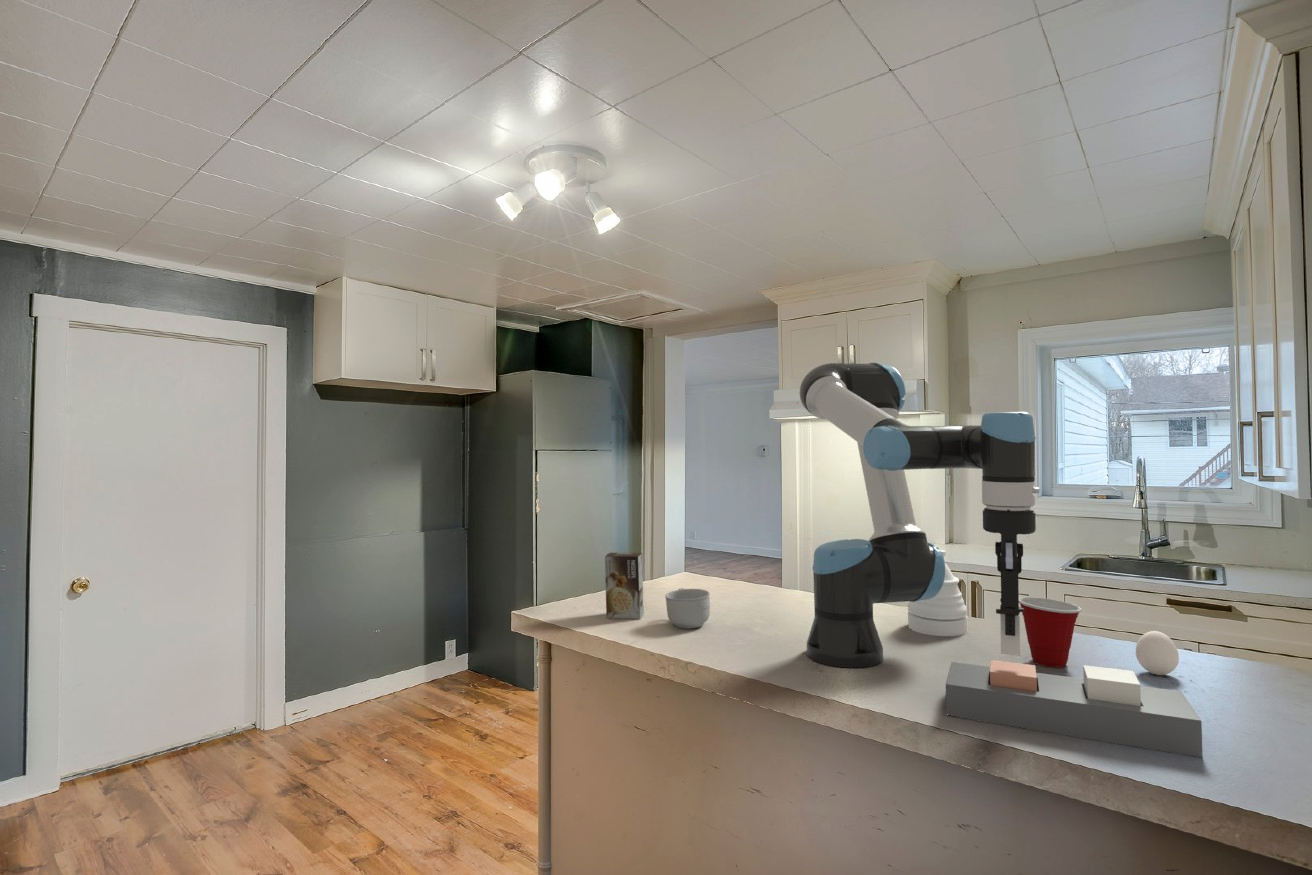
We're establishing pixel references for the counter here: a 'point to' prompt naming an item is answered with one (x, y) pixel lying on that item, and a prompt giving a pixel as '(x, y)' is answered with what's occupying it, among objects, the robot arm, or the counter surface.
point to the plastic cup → (1049, 629)
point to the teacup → (688, 607)
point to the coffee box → (624, 585)
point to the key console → (1076, 711)
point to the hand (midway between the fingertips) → (1010, 653)
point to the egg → (1157, 653)
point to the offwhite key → (1111, 685)
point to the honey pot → (940, 610)
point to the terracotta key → (1013, 675)
